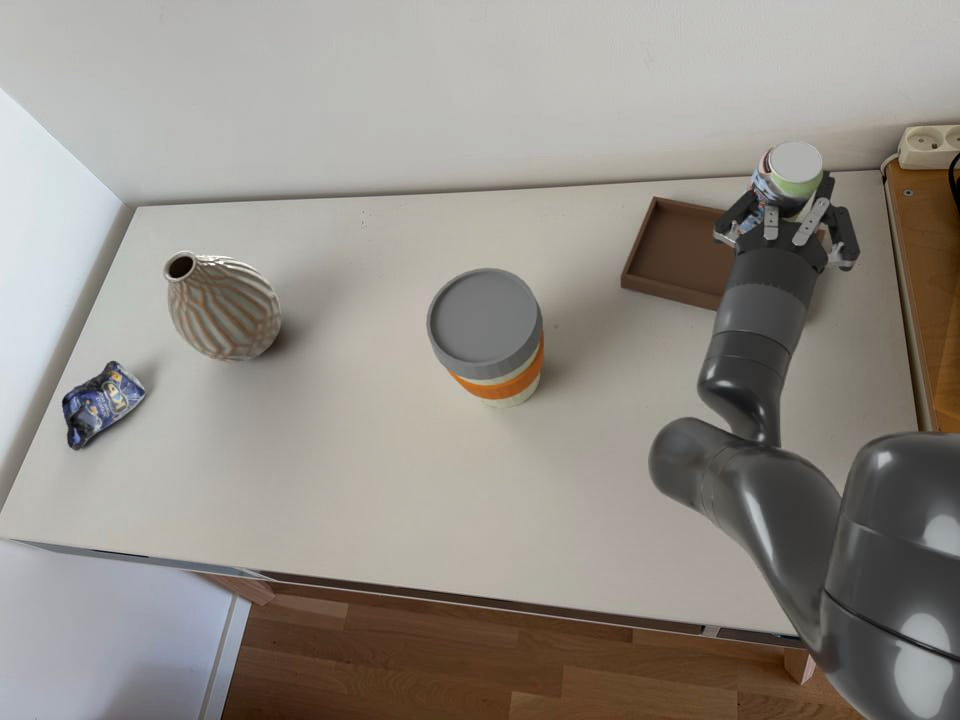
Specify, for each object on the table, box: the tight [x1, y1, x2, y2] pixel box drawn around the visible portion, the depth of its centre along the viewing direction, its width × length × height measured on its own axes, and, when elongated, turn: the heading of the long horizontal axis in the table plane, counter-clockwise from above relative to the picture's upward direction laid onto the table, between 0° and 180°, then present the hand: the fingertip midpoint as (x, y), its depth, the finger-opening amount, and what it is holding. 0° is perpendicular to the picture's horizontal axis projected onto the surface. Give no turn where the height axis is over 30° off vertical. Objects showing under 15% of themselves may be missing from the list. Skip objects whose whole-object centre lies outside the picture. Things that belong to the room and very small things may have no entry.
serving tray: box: [620, 195, 826, 313], centre depth 81 cm, size 21×13×3 cm, turn 65°
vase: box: [162, 250, 283, 363], centre depth 85 cm, size 13×13×18 cm
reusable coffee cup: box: [425, 267, 545, 409], centre depth 75 cm, size 13×13×15 cm
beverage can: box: [738, 139, 824, 236], centre depth 68 cm, size 6×7×12 cm
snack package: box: [61, 360, 147, 452], centre depth 90 cm, size 12×6×12 cm
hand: (804, 173), depth 67 cm, fingers closed on beverage can, 3 cm apart
